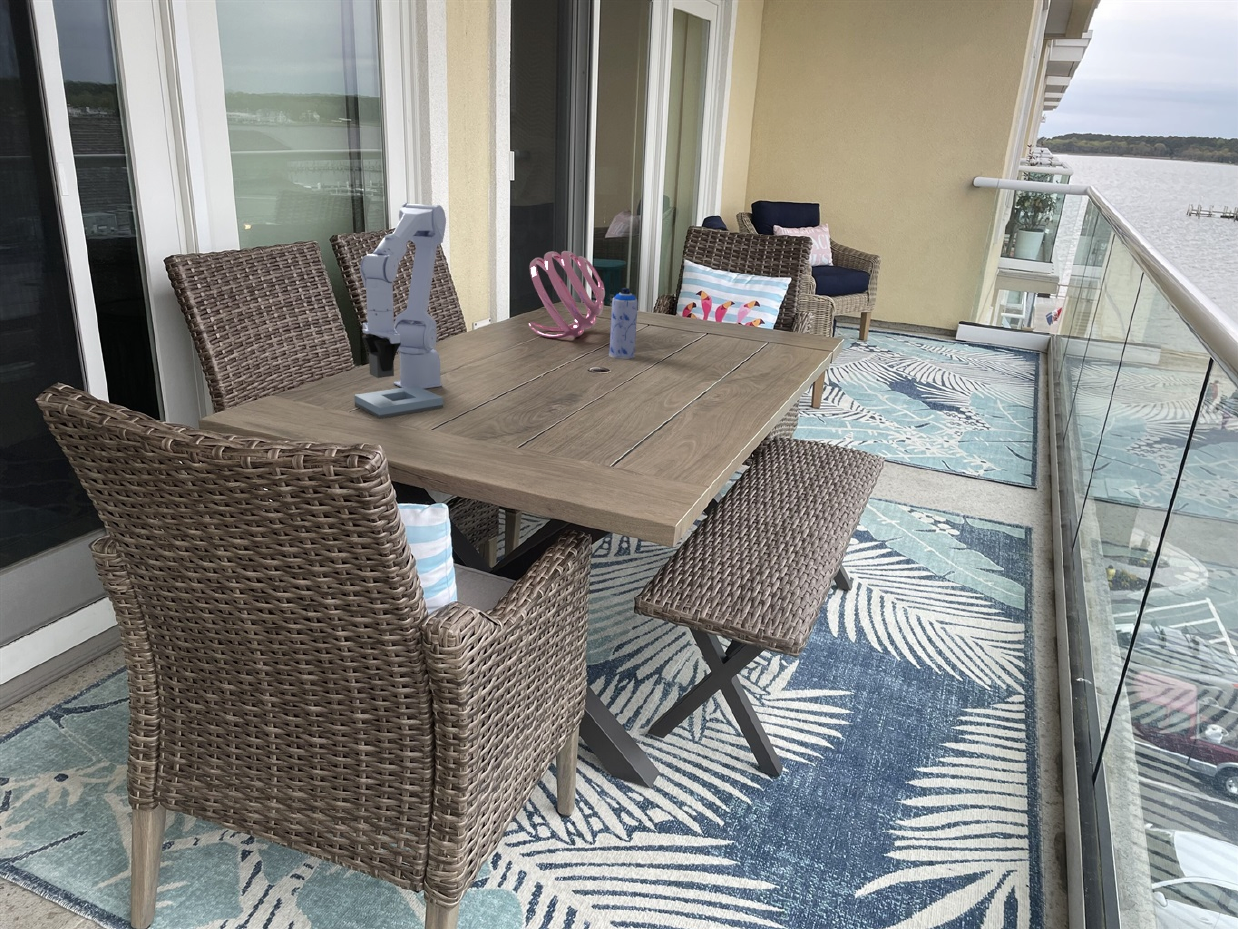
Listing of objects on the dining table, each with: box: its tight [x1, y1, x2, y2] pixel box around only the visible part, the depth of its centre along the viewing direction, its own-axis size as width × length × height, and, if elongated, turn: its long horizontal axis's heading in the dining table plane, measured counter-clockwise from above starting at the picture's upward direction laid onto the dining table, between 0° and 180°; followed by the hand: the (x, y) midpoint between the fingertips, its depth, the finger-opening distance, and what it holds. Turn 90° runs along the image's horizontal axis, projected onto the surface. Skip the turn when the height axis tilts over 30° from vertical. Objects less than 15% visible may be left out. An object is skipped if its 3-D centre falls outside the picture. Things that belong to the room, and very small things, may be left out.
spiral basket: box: [528, 250, 606, 340], centre depth 286 cm, size 28×28×27 cm
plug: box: [368, 352, 395, 379], centre depth 205 cm, size 4×4×5 cm
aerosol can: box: [608, 287, 639, 360], centre depth 264 cm, size 8×8×20 cm
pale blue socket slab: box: [354, 386, 444, 419], centre depth 206 cm, size 16×12×2 cm
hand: (382, 368), depth 205 cm, fingers closed on plug, 4 cm apart
